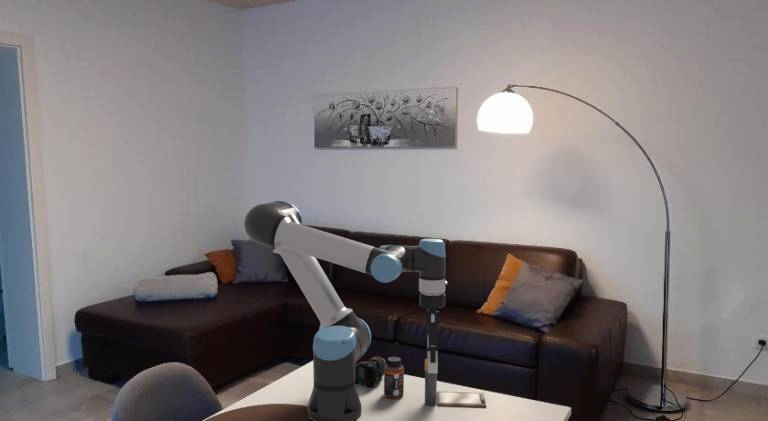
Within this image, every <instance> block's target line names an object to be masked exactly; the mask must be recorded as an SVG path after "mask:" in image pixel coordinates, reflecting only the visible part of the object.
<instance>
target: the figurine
mask: <svg viewBox="0 0 768 421" xmlns="http://www.w3.org/2000/svg"><path fill="white" fill-rule="evenodd" d="M386 365H387V362H386V360H385V359H384V358H382V357H380V356H374V357H372V358H370V359H368V360H367V361H360V362H359V363H356V365H355V386H357V385H361V386H366V387H370V388H374V387H375V385H376V383H377V382H378V380H380V379H382V378H383V377H384V368H385V366H386Z"/></svg>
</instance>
